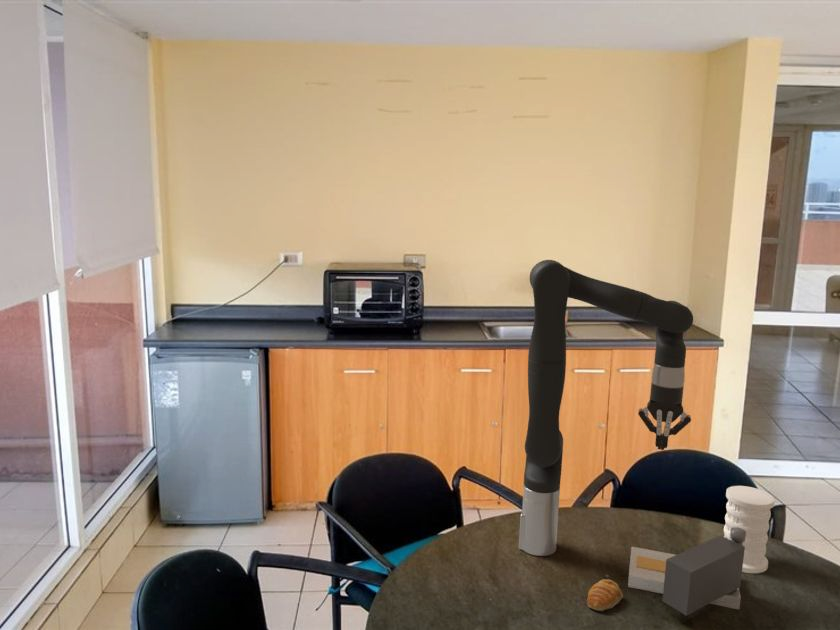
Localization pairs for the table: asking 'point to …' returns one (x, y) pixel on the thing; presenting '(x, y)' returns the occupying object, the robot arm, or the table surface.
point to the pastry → (604, 595)
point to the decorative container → (750, 523)
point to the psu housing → (651, 575)
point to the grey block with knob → (704, 572)
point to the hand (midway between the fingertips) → (661, 448)
